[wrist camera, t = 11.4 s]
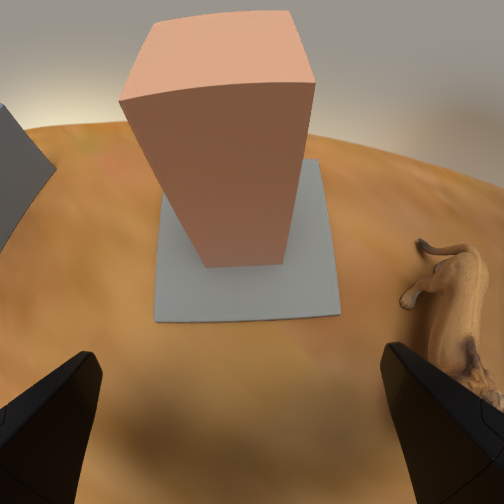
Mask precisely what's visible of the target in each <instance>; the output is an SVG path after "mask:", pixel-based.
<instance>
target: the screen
mask: <svg viewBox="0 0 504 504" xmlns="http://www.w3.org/2000/svg"><path fill="white" fill-rule="evenodd" d="M55 171H56V168H55V167H54V166H53V165H52V163H51V162H50V161H49V160H48V159H47V158H46V156H45V155H44V154H43V153H42V152H41V151H40V149H39V148H38V147H37V146H36V145H35V143H34V142H33V141H32V140H31V139H30V137H29V136H28V135H27V134H26V132H25V131H24V130H23V129H22V127H21V126H20V125H19V124H18V122H17V121H16V120H15V119H14V117H13V116H12V115H11V113H10V112H9V111H8V110H7V108H6V107H5V106H4V104H1V103H0V252H1V250H2V249H3V247H4V245H5V243H6V242H7V240H8V238H9V237H10V235H11V233H12V232H13V230H14V228H15V227H16V225H17V224H18V222H19V221H20V219H21V218H22V216H23V215H24V213H25V212H26V210H27V209H28V207H29V206H30V204H31V203H32V201H33V200H34V199H35V197H36V196H37V194H38V193H39V192H40V190H41V189H42V188H43V186H44V185H45V184H46V182H47V181H48V180H49V178H50V177H51V176H52V174H53V173H54V172H55Z"/></svg>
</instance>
